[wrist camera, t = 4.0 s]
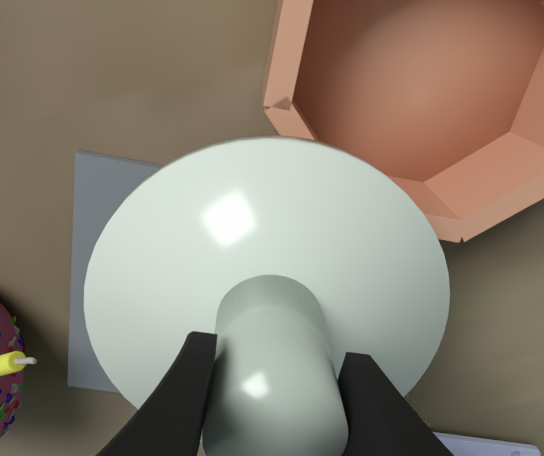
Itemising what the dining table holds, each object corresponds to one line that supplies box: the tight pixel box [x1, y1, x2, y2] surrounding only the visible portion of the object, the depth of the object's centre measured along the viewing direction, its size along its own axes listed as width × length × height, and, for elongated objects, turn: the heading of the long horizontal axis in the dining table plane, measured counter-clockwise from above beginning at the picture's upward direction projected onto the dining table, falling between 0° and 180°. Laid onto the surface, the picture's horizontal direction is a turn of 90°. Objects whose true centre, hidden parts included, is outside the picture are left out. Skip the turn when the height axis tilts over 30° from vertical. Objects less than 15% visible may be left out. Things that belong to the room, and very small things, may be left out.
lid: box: [84, 135, 450, 456], centre depth 13 cm, size 11×11×5 cm
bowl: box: [262, 0, 544, 243], centre depth 16 cm, size 11×11×4 cm
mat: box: [67, 150, 163, 393], centre depth 22 cm, size 12×12×1 cm
